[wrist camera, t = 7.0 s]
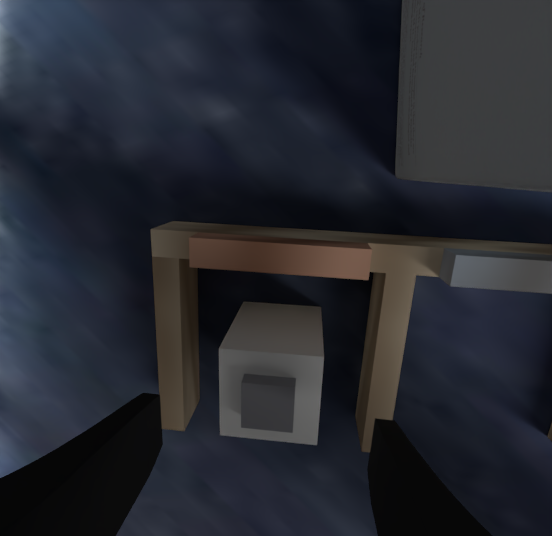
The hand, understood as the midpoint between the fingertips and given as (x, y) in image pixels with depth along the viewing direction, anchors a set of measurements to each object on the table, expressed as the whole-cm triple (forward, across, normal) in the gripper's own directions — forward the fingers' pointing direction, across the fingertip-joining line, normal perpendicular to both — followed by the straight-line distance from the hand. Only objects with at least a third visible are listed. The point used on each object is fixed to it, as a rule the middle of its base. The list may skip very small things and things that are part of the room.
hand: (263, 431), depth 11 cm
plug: (+7, 0, 0) cm, 7 cm away
